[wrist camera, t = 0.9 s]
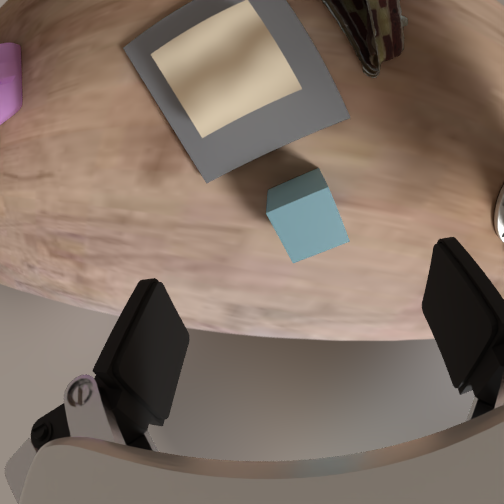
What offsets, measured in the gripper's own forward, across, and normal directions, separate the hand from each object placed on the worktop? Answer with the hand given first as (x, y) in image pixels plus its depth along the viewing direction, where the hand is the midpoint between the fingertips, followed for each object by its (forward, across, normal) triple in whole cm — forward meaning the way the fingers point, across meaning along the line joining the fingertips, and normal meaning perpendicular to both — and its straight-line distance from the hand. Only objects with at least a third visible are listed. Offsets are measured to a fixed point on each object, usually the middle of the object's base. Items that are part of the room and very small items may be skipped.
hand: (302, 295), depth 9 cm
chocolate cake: (+22, -12, -13) cm, 28 cm away
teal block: (+22, -1, +6) cm, 23 cm away
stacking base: (+22, +3, -9) cm, 24 cm away
